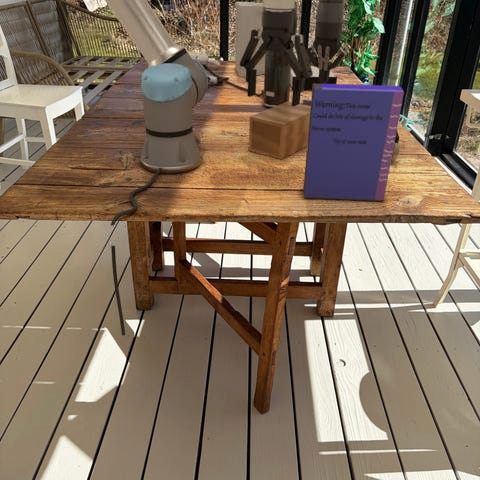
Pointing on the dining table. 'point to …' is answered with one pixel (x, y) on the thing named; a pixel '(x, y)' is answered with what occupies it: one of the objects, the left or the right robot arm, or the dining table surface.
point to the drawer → (306, 102)
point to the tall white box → (248, 33)
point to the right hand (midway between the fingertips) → (323, 82)
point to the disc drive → (313, 79)
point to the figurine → (217, 79)
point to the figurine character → (396, 146)
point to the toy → (203, 58)
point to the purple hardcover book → (351, 141)
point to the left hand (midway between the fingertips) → (272, 100)
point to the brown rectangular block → (279, 130)
